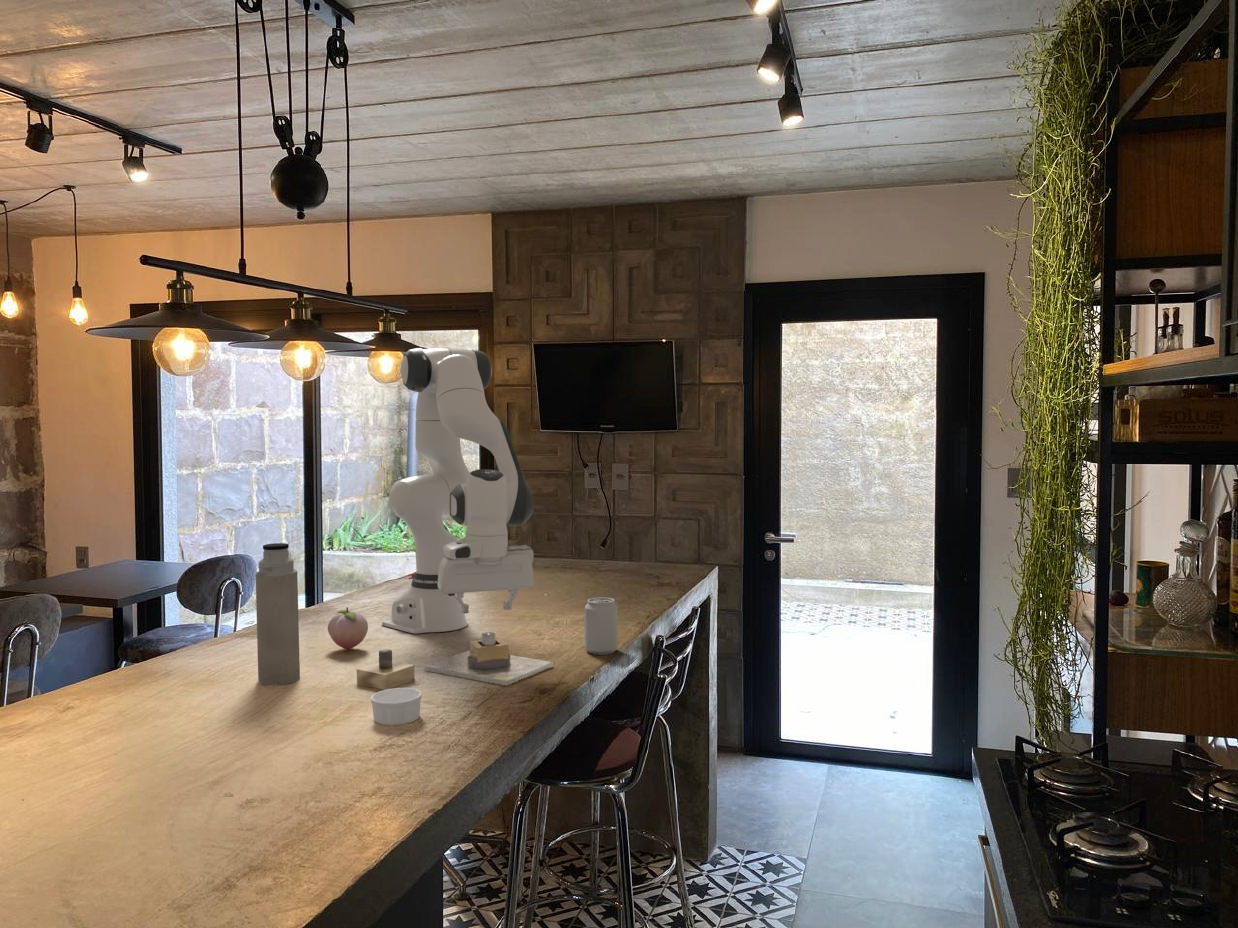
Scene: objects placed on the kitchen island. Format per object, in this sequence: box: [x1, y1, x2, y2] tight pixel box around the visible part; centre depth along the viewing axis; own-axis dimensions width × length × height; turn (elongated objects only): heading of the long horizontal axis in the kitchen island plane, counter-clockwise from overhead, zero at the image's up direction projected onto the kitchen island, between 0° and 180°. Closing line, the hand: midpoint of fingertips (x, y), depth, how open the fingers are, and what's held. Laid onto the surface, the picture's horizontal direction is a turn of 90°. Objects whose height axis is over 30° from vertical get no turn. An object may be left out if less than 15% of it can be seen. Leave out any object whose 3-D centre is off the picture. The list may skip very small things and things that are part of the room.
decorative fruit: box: [327, 606, 369, 651], centre depth 208 cm, size 9×8×10 cm
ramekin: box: [370, 687, 423, 726], centre depth 160 cm, size 9×9×4 cm
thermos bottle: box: [255, 542, 301, 686], centre depth 184 cm, size 8×8×28 cm
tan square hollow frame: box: [469, 637, 509, 662], centre depth 192 cm, size 7×7×3 cm
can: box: [584, 596, 619, 656], centre depth 205 cm, size 8×8×12 cm
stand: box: [356, 648, 416, 690], centre depth 182 cm, size 8×8×6 cm
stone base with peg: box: [423, 631, 554, 687], centre depth 192 cm, size 22×16×8 cm
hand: (486, 611), depth 192 cm, fingers open, 8 cm apart
